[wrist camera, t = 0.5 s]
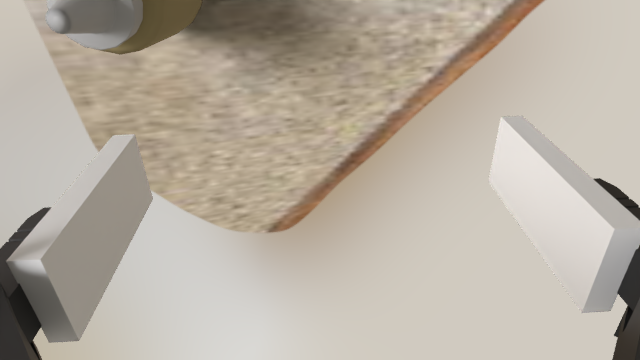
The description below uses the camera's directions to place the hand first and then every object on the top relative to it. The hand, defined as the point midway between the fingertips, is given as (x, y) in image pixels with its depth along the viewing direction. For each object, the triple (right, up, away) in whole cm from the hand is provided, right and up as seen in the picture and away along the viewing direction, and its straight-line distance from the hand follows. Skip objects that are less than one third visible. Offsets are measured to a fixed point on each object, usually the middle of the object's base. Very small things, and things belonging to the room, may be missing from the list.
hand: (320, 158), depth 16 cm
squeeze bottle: (-13, +16, +20) cm, 29 cm away
